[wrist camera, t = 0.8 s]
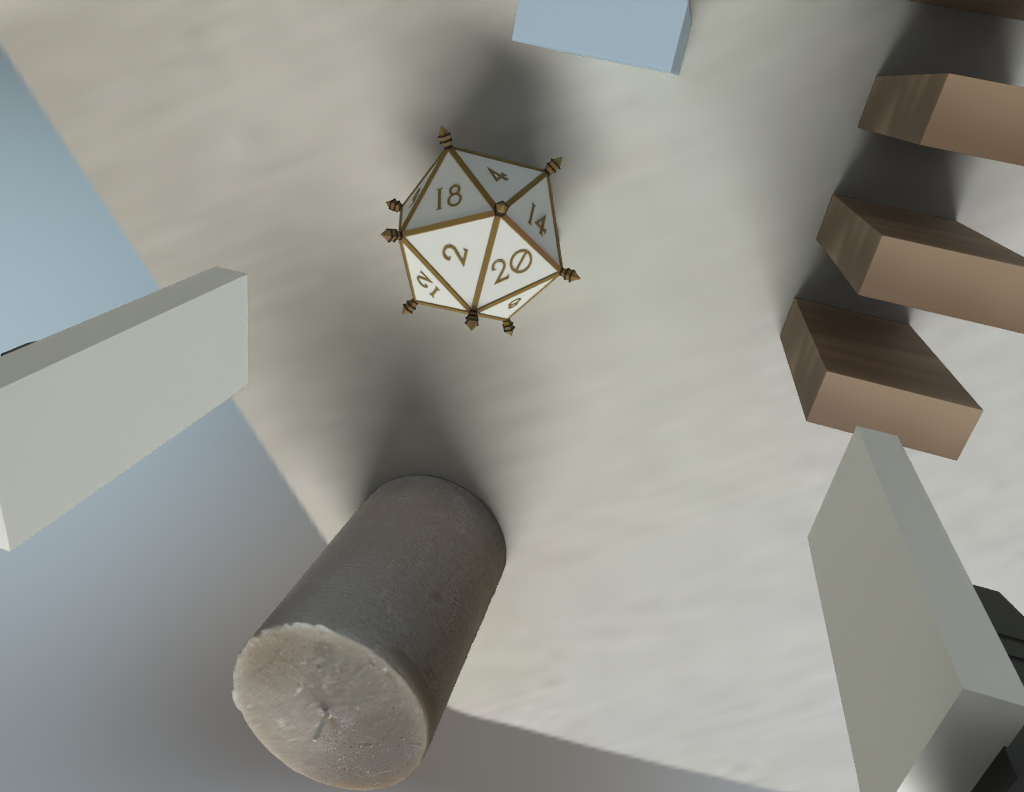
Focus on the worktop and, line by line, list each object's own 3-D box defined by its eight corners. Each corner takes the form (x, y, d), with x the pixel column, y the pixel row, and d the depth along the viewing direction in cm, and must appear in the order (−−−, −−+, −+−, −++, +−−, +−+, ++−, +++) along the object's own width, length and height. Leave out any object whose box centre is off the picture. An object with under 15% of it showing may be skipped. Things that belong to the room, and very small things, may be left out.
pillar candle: (521, 604, 44) (444, 825, 31) (380, 608, 47) (254, 811, 34) (486, 465, 41) (384, 643, 28) (337, 477, 44) (179, 645, 31)
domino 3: (832, 194, 31) (882, 235, 23) (956, 221, 31) (1055, 274, 22) (816, 238, 32) (857, 294, 24) (936, 266, 32) (1023, 333, 23)
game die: (532, 175, 38) (598, 88, 28) (555, 335, 38) (630, 303, 28) (360, 187, 36) (367, 98, 26) (385, 357, 36) (401, 331, 26)
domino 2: (876, 76, 29) (949, 73, 21) (1010, 102, 29) (1142, 109, 20) (857, 127, 30) (919, 144, 22) (986, 153, 29) (1103, 182, 21)
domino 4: (794, 297, 33) (827, 370, 25) (909, 325, 33) (983, 410, 24) (780, 337, 34) (806, 421, 26) (891, 364, 34) (956, 460, 25)
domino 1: (572, 1, 31) (522, -31, 22) (692, 24, 30) (688, 0, 22) (562, 51, 32) (511, 40, 23) (678, 75, 31) (670, 72, 22)
